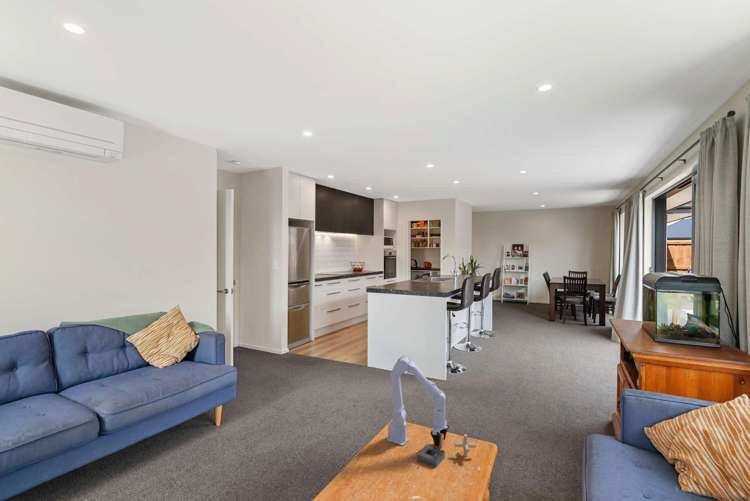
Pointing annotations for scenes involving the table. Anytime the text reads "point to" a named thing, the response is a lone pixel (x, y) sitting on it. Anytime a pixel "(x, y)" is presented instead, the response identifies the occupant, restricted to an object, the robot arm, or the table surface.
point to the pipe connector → (465, 445)
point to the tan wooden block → (441, 440)
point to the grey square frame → (431, 455)
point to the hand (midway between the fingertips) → (439, 442)
